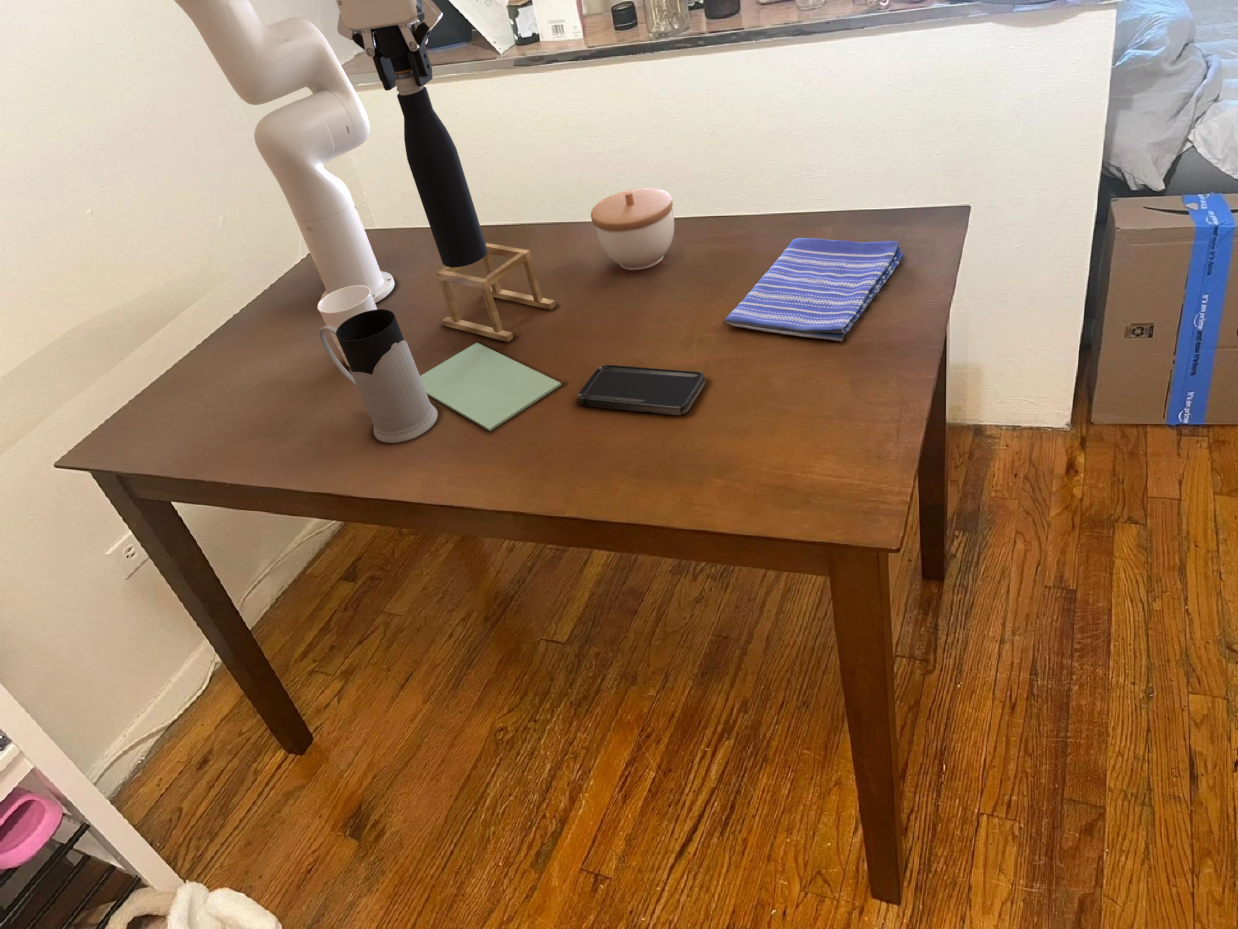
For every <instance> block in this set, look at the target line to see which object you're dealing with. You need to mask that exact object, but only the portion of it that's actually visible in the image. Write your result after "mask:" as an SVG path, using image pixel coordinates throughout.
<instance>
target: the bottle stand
mask: <svg viewBox="0 0 1238 929" xmlns="http://www.w3.org/2000/svg"><path fill="white" fill-rule="evenodd" d="M485 243H486V247H487V250H488V251H487V254H486V255H485V256H484V257H483V258H482V259H481V260H482V262H483V265H484V268H485V272H486V276H484V277H479V276H478V277H477V276H474V275H473V276H472V275H469V274H463V273H460V272H459V273H458V271H460V270H461V269H463V268H465V266H463V267H447V266H444V267H442V268H441V269H440V270H438V271H436V273H435V274H436V277H437V280H438V282H439V285H440V288H441V291H442V294H443V297H444V299H445V303H446V305H447V309H448V311H449V314H450V316H446V317H444V319H442V320H441V321H442V323H443V326H444V327H448V328H451V329H456V330H459V331H463V332H467V333H471V334H475V335H479V336H483V337H487V338H491V339H494V340H498V341H502V342H506V343H509V342H510V341H512V340H513V339H514V335H513V333H512V332H511V331H507V330H504V328H503V324H502V321H501V319H500V315H499V312H498V309H497V305H496V302H495V299H494V298H496V299H501V300H505V301H509V302H513V303H519V304H523V305H526V306H532V307H537V308H540V309H544V310H548V311H552V310H553V309H554V308H555V307H557V305H556V302H555V300H553V299H549V298H545V297H543V295H542V291H541V286H540V283H539V281H538V280H539V279H538V277H537V273H536V269H535V266H534V261H533V259H532V255H531V252H530V250H529V249H523V248H519V247H512V246H508V245H507V246H506V245H501V244H496V243H495V244H494V243H489V242H485ZM492 255H495V256H500V257H505V258H506V257H507V258H510V259H509V260H507V261H506V262H505V263H503V264H501V265H500V266H498V267H497V268H495V265H494V262H493V258H492ZM522 265H523V267H524V270H525V274H526V277H527V281H528V284H529V289H530V292H531V295H530V294H526V293H521V292H517V291H512V290H507V289H503V288H501V285H500V281H501V279H503V278H505V276H507V275H509V274H510V273H511V272H513V271H514V270H516V269H517V268H519V267H520V266H522ZM451 284H456V285H461V286H466V287H470V288H474V289H480V292H481V295H482V299H483V301H484V305H485V308H486V310H487V314H488V317H489V320H490V323H491V326H492V327H491V326H487V325H483V324H479V323H475V322H472V321H467V320H463V319H462V316H461V314H460V310H459V308H458V304H457V302H456V299H455V296H454V292H453V290H452V287H451Z"/></svg>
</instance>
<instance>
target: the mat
mask: <svg viewBox="0 0 1238 929" xmlns="http://www.w3.org/2000/svg"><path fill="white" fill-rule="evenodd" d="M420 378H421V380H422V383H423V385H424V388H425V391H426V393H427V396H428V397H430V398H432V399H434V400H435V401H437V402H439V403H441V404H442V405H444V406H446V407H447V408H448V409H451V410H452V411H454V412H456V413H457V414H459V415H461V416H463V417H464V418H466V419H468V420H470V421H471V422H473V423H475V424H476V425H478V426H479V427H482V428H483V429H485V430H487V431H488V432H491V431H493V430H494V429H496V428H497V427H499V426H501V425H502V424H504V423H506V422H507V421H508V420H510V419H511V418H513V417H515V416H516V415H518V414H519V413H521V412H522V411H524V410H525V409H527V408H529V407H530V406H532V405H534V404H535V403H536V402H538V401H540V400H541V399H542V398H544V397H546V396H547V395H549V394H550V393H552V392H553V391H556V389H558V388H560V387H561V386H562V382H560V381H558V380H556V379H553V378H552V377H549V376H547V375H545V374H543V373H541V372H540V371H537V370H535V369H533V368H531V367H529V366H526V365H524V364H523V363H520V362H519V361H516V360H515V359H512V358H510V357H508V356H506V355H504V354H501V353H500V352H497V351H496V350H494V349H491V348H489V347H488V346H485V345H483V344H481V343H478V342H474V343H473V344H471V345H470V346H468V347H467V348H464V350H461V351H460V352H458V353H456V354H455V355H453V356H451V357H450V358H448V359H446V360H444V361H443V362H441V363H440V364H438V365H436V366H434V367H432V368H431V369H429V370H427V371H426V372H424V373H422V374H420Z"/></svg>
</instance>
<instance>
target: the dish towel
mask: <svg viewBox="0 0 1238 929" xmlns="http://www.w3.org/2000/svg"><path fill="white" fill-rule="evenodd" d="M901 250H902V249H901V247H900V243H899V241H897V240H884V241H869V242H866V241H865V242H861V241H853V240H852V241H851V240H838V239H834V240H833V239H825V238H812V237H811V238H809V237H799V238H797V237H796V238H794V239H792V241H791V242H790V243H788V245H787V246H786V248H785V249H784V250H783V252H782V254H780V256H779V257H778V258H777V259H776V260H775V262H774V263H773V264H772V265H771V267H770V268H769V269H768V270H767V271H766V272H765V274H763V275H762V276H761V278H760V279H759V280H758V281H757V283H755V285H754V286H753V288H752V289H751V290H750V291H749V292H748V293H747V294H746V295H745V297H744V298H742V301H740V302H738V305H737V306H736V307H734V309H732V311H730V313H729V314H728V315H727V316H726V317H725V318H724V320H723V323H725V324H727V325H729V326H732V327H736V328H741V329H747V330H752V331H759V332H765V333H773V334H781V335H787V336H794V337H801V338H811V339H819V340H820V339H821V340H828V341H834V342H843V340H844V338H845V336H846V335H847V333H848V332H849V331H850V329H851V328H852V327H853V326H854V325H855V323H856V322H857V321H858V319H859V318H861V315H862V314H863V313H864V312H865V310H866V309H867V307H868V306H869V305H870V303H871V302H872V300H873V299H874V298H875V297H876V296H877V294H878V293H879V292H880V290H881V289H882V287H883V286H884V285H885V284H886V282H888V279H889V278H890V277H891V276H892V274H893V273H894V271H895V269H896V268H897V267H898V266H899V264H900V262H901V260H902V258H903V257H904V254H905V253H904V252H901Z"/></svg>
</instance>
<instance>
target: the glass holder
mask: <svg viewBox="0 0 1238 929" xmlns="http://www.w3.org/2000/svg"><path fill="white" fill-rule="evenodd" d="M326 330H327V331H328V332H329V331H331V332H332V333H334V334H335V335H336V336H337V339H338V341H339V343H340V345H341V348H342V350H343V352H344V355H345V357H346V359H347V361H348V364H349V366H350V367H349V366H348V367H349V371H348V370H347V369H346V368H345V367H344V365H343V364H342V363H341V362H340V360H339V359H338V358H337V356H336V355H335V353H334V351H333V350H332V348H331V346H330V344H329V342H328V340H327V338H326V337H327V336H326V335H325V331H326ZM318 332H319V340H320V341H321V344H322V346H323V348H324V350H325V352H326V354H327V355H328V357H329V358H330V360H331V361H332V363H333V364H334V365H335V367H336V369H338V370H339V372H340V373H341V374H342V375H343V376H344V377H345V378H346V379H347V380H348V381H349V382H351V384H353V385H354V386H355V387H356V388H357V390H358V392H359V394H360V397H361V399H362V401H363V403H364V406H365V408H366V410H367V412H368V416H369V417H370V420H371V422H372V425H373V435H374V437H375V439H377V440H378V441H379V442H383V443H387V444H389V443H390V444H396V443H403V442H407V441H411V440H412V439H415V438H417V437H419V436H421V435H423V434H424V433H426V432H428V431H429V430H430V429H431V428H432V427H433V426H434V424H435V423H436V422H437V420H438V416H439V412H438V410H437V408H436V407H435V406H434V405H433V404H432V403H431V401H430V398H429V395H427V393H426V391H425V388H424V385H423V383H422V380H421V378H420V376H421V374H420V373H419V370H418V368H417V365H416V363H415V360H414V357H413V355H412V352H411V349H410V348H409V345H408V342H407V341H406V339H405V338H404V336H403V333H402V331H401V328H400V325H399V323H398V320H397V317H396V316H395V313H394V312H393V311H391V310H389V309H382V308H381V309H379V308H377V310H371V311H366V312H363V313H360V314H357V315H355V316H353V317H351V318H349V319H348V320H346V321H345V322H343V323H342V324H341V325H340V326H339V327H338V329H336V328H335V327H333V326H329V325H327V326H326V325H325V326H323V327H321V328H320V330H319V331H318Z"/></svg>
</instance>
